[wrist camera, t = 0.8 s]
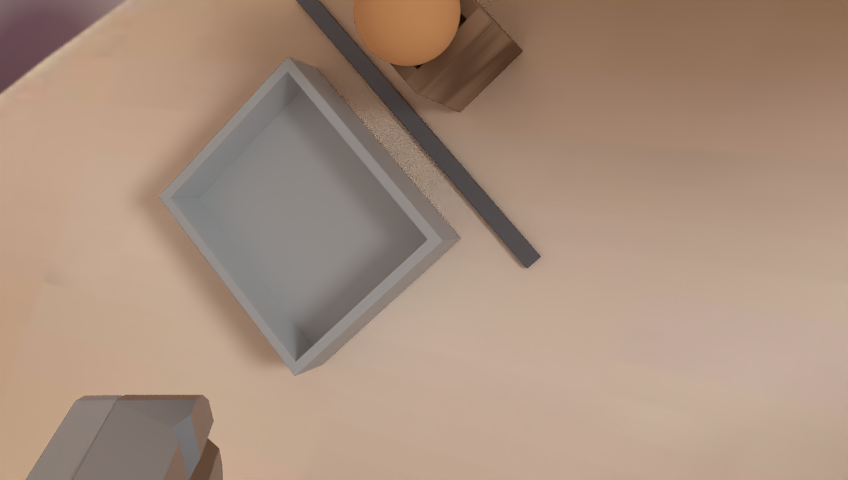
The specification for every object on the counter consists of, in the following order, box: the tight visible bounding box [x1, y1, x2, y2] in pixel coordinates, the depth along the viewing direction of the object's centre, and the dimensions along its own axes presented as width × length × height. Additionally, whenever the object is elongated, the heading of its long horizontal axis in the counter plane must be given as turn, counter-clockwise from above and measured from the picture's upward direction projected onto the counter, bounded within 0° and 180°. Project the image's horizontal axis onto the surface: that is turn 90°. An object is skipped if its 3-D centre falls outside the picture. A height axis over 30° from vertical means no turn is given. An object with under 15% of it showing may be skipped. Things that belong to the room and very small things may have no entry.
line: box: [297, 0, 540, 268], centre depth 47 cm, size 1×22×1 cm, turn 41°
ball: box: [354, 0, 460, 66], centre depth 36 cm, size 5×5×5 cm
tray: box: [159, 57, 461, 376], centre depth 47 cm, size 12×14×4 cm
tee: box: [354, 0, 522, 112], centre depth 42 cm, size 5×5×8 cm
